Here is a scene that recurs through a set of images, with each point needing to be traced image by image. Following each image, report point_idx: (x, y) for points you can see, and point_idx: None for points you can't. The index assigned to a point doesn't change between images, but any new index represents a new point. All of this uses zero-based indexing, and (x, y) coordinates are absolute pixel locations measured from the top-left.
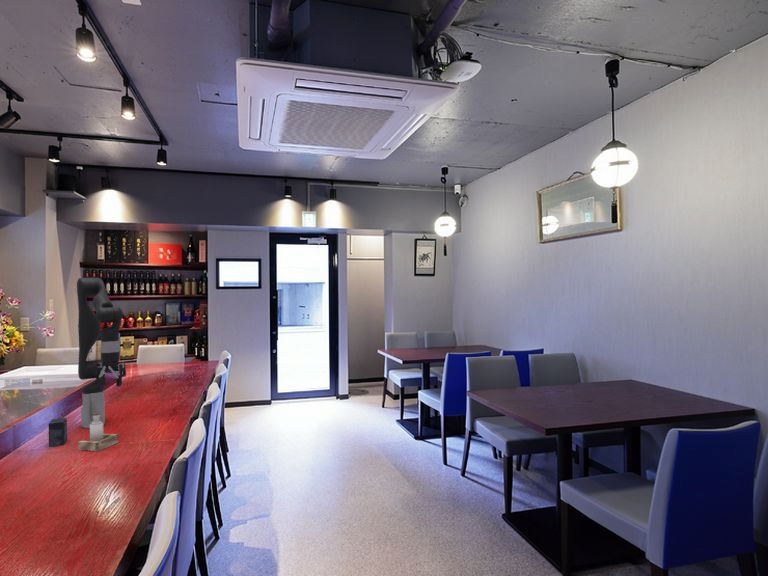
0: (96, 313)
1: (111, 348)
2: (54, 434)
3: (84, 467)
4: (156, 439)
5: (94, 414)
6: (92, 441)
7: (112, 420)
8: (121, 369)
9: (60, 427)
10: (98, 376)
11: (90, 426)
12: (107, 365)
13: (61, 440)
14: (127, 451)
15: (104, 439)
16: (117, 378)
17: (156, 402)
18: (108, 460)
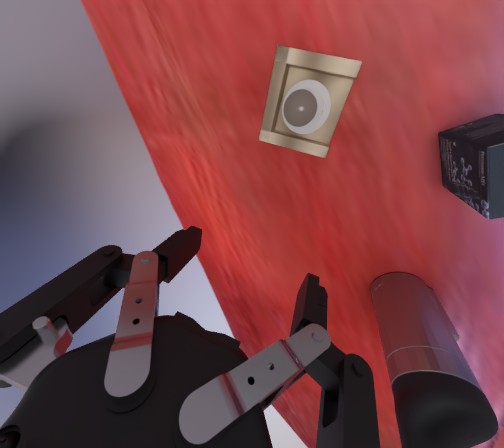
0: None
1: None
2: (500, 125)
3: None
4: (184, 146)
5: (300, 89)
6: (306, 63)
7: (361, 313)
8: (35, 291)
9: (487, 138)
10: (339, 349)
11: (321, 84)
12: (164, 437)
13: (454, 131)
14: (198, 47)
15: (275, 86)
16: (154, 252)
17: (312, 382)
18: None
